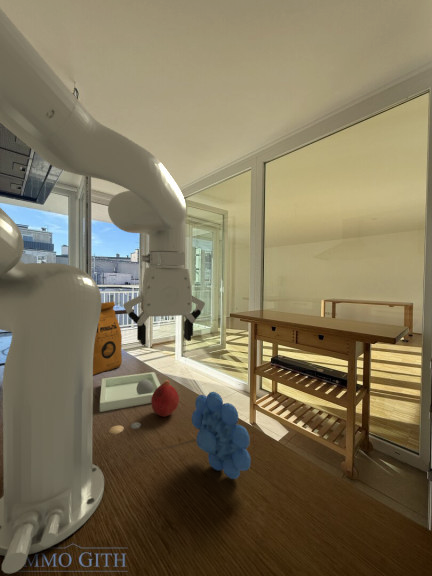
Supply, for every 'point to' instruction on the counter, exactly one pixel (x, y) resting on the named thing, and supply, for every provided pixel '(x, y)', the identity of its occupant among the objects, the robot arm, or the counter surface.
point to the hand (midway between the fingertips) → (165, 341)
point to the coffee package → (107, 341)
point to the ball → (144, 387)
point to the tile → (120, 428)
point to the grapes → (221, 435)
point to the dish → (125, 391)
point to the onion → (165, 399)
